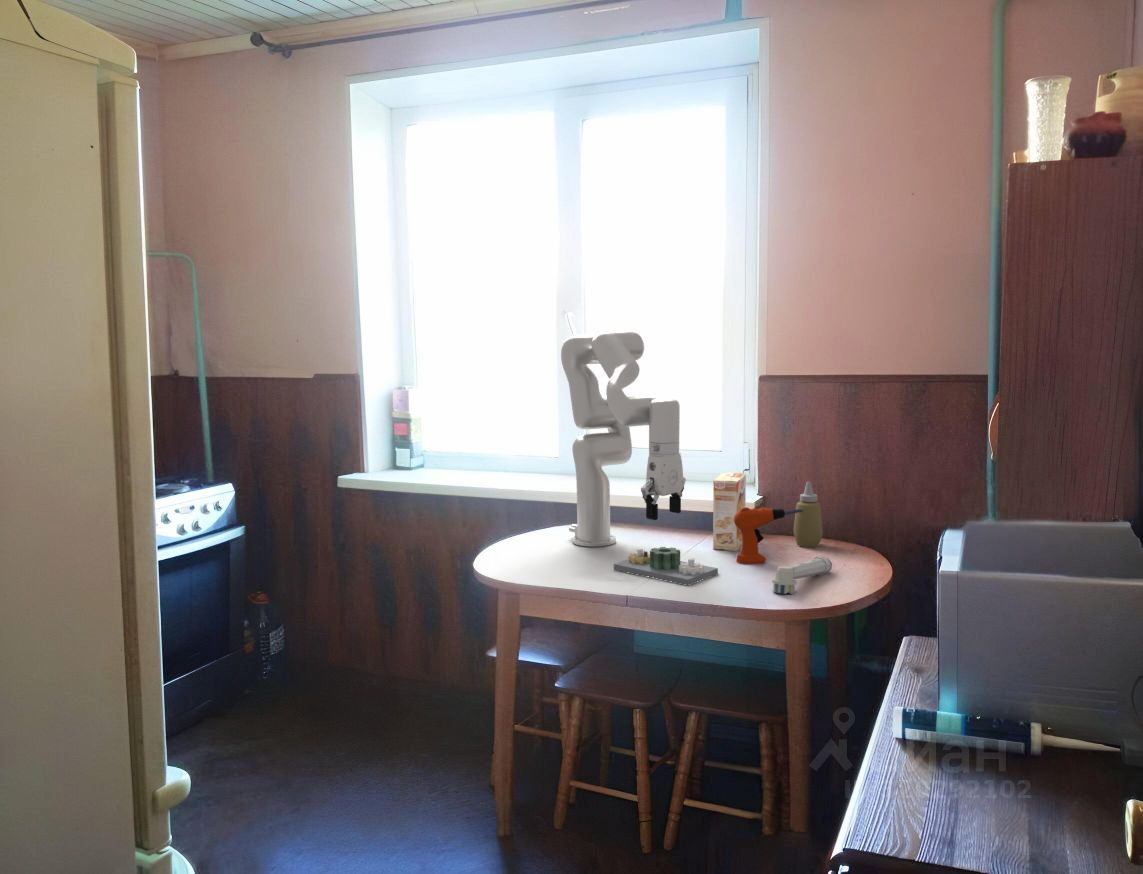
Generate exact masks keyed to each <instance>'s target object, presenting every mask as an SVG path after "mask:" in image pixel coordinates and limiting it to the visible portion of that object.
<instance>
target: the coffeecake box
mask: <svg viewBox="0 0 1143 874" xmlns="http://www.w3.org/2000/svg"><path fill="white" fill-rule="evenodd" d="M712 482H713V485H712V486H713V489H712V490H713V492H712V493H713V495H712V496H713V500H712V501H713V503H712V505H713V508H712V509H713V513H712V514H713V516H712V517H713V518H712V525H713V526H712V531H713V532H712V534H713V535H712V536H713V537H712V538H713V539H712V542H713V543H712V549H713V550H720V549H724V550H723V551H732V550H735V551H736V552H737V551H739V549H740V548H741V547H742V533H741V530H740V529H739V528H738V527H737V526H736V525H735V523H734V516H735V515H736V513H738V512H739V511H740V510H741V509H742V508H745V507H746V502H747V501H746V499H747V498H746V497H747V493H746V492H747V491H746V486H747V485H746V483H747V473H743V472H722V473H721V474H720V475H719V476H717V477H716V478H715V479H714V480H713V481H712Z"/></svg>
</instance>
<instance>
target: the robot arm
mask: <svg viewBox="0 0 1143 874" xmlns="http://www.w3.org/2000/svg"><path fill="white" fill-rule="evenodd" d="M560 351H561V352H560V359H561V360H560V361H561V365H562V369H563V371H564V374H565V376H566V380H567V382H568V386H569V394H570V401H571V410H572V415H573V416H572V417H573V422H574V425H575V426H576V427H577V428H578V429H581V430H596V429H597V430H600V429H601V430H602V429H607V431H608V432H595V433H586V434H583V435H580V436H578V437H576V439H575V440H574V441H573V444H572V456H573V462H574V468H575V480H576V513H577V515H576V519H577V521H576V523H577V524H576V523H572V524H571V526H570V527H569V528H568V531H569V533H570V532H571V533H574V536H573V537H572V539H571V540H572V544H574V545H577V546H581V547H589V548H591V547H596V548H598V547H606V546H611V545H612V544H616V542H617V541H616V540H617V539H616V536H614V535H613V534H611V495H610V494H611V493H610V492H611V491H610V480H609V478H608V475H607V474H606V472H605V471H604V469H603V467H606V466H616V465H624V464H626V463H627V462H628V461H630V459H631V457H632V453H633V446H632V437H631V430H630V428H631V427H639V426H640V427H641V426H642V427H643V426H648V459H647V465H646V466H647V467H646V474H645V475H646V476H645V477H646V479H645V483H644V484H643V486H641V487H640V491H641V492H640V493H641V495H642V499H643V500H644V504H646V505H645V518H646V519H647V520H653V521H656V520H657V521H658V520H659V519H658V518H659V515H658V514H659V504H658V503H657V501H658V500H659V498H660V496H661V497H666V496H669V499H668V501H669V504H668V505H669V507H668V508H669V510H668V511H669V512H670V513H675V514H680V513H681V512H682V509H681V508H682V497H683V492H684V490H685V485H686V481H687V479H686V477H684V472H683V471H684V469H683V460H682V454H681V453H680V412H681V411H680V409H681V408H680V403H679V400H676V399H673V398H666V397H664V396H661V395H637V396H627V395H626V394H625V392H624V390H623V389H624V388H627V387H628V386H630V385H631V384H633V383H634V381H636V380H637V378H638V377H639V375H640V366H639V363H638V362H637V361H638V360H640V359H641V358H642V357H643V355H644V351H645V343H644V340H643V338H642V336H641V335H640V334H639V333H638V332H637V331H635V330H625V329H624V330H605V331H601V332H599V333H582V334H575V335H572V336H569V337H567V338H566V339H565V340H564V341H563V343H562V345H561V350H560ZM596 364H597V365H599V364H600V365H601V367H602V369H603V371H604V372H605V374H606V376H607V377H608V379H609V380H608V382H607V385H606V392H605V395H601V391H600V385H599V380H598V378H597V376H596V375H595V373H594V372H593V371H592V369H591V368H590V367H589V366H587V365H596ZM652 496H653V497H652Z"/></svg>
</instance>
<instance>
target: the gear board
mask: <svg viewBox="0 0 1143 874" xmlns="http://www.w3.org/2000/svg"><path fill="white" fill-rule="evenodd" d="M627 557H628V559H624V560H622V561H618V562H616V563H615V562H614V563H613V570H614V571H617V570H619V572H622V571H623V573H627V572H629V573H628V574H631V573H633V574H632V575H636V574H638V575H637V576H641V575H644V576H643V577H645V576H649V577H648V578H650V577H654V578H653V579H655V578H658V579H657V580H659V579H662V580H661V581H664V580H667V581H666V582H669V581H672V582H671V583H673V582H676V583H675V584H678V583H681V584H680V585H683V584H686V585H685V586H687V585H688V586H690V585H689V584H691V585H693V584H692V583H694V584H696V583H698V582H697V581H699V582H700V580H701V581H703V580H702V579H704V580H706V579H708V577H709V578H711V577H710V576H712V577H714V576H716V574H717V575H719V567H718V568H717V567H715V566H714V567H713V566H708V565H704V564H701V563H700V562H695V558H688V559H687V561H684V560H683V561H682V560H680V565H679V568H677V569H670V570H664V569H659V570H658V569H654V567H650V553H648V551H644V549H642V548H638V549H636V552H635V553H633V552H632V553H629V555H628V556H627ZM713 575H714V576H713ZM705 578H706V579H705ZM695 582H696V583H695Z"/></svg>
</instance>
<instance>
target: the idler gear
mask: <svg viewBox="0 0 1143 874" xmlns="http://www.w3.org/2000/svg"><path fill="white" fill-rule="evenodd" d="M649 555H650V567H654V569H658V570H659V569H664V570H670V569H677V568H679V565H680V561H681V550H680V549H677V548H676V547H672V546H671V547H666V546H660V547H659V548H658V547H652V548H651V550H649Z"/></svg>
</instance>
